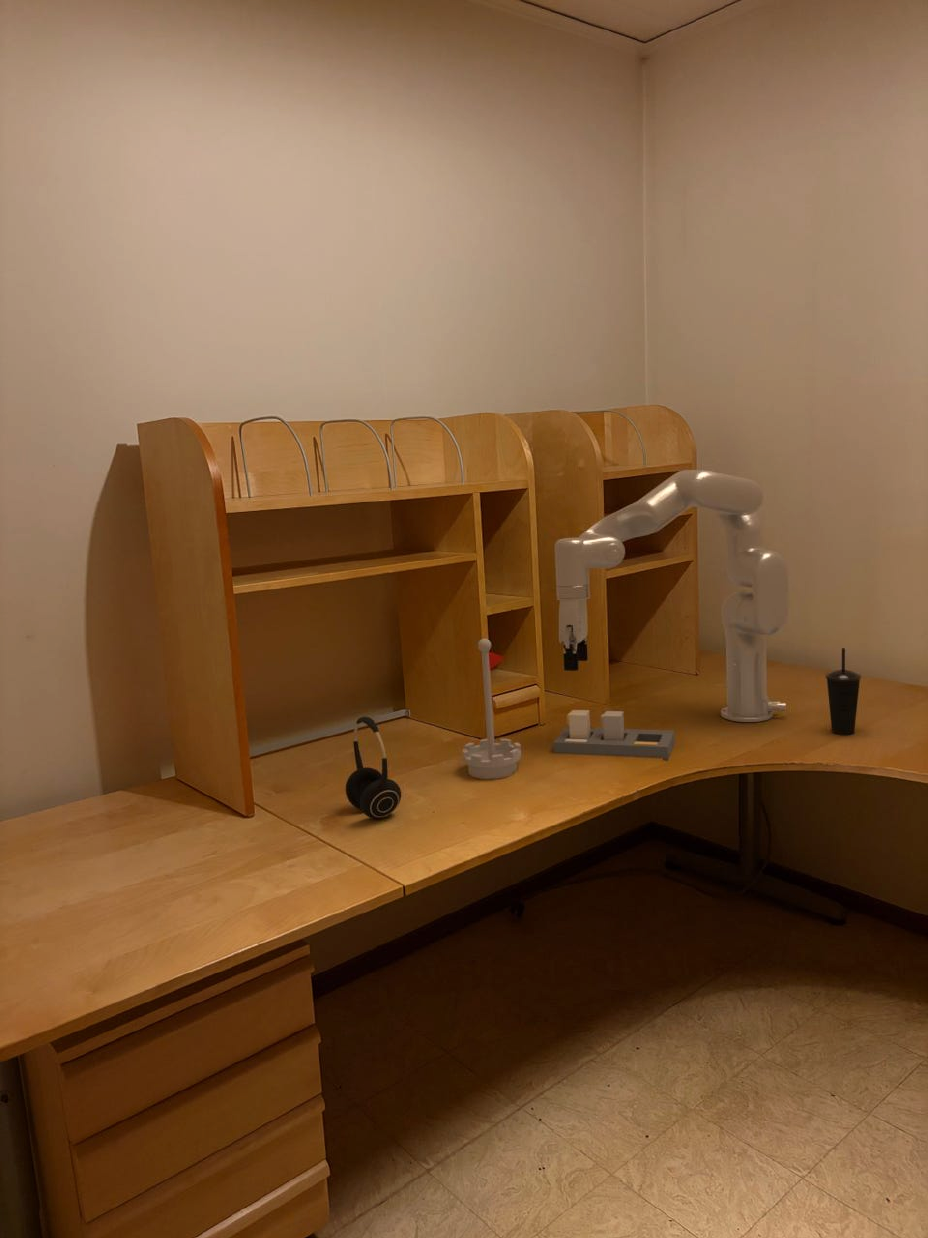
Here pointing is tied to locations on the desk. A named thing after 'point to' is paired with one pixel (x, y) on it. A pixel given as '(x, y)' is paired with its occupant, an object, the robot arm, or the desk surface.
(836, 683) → the drinking cup
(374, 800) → the headphones
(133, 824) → the desk surface
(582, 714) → the ivory plug
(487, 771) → the flag stand
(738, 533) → the robot arm
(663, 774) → the desk surface
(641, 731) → the grey slotted tray
